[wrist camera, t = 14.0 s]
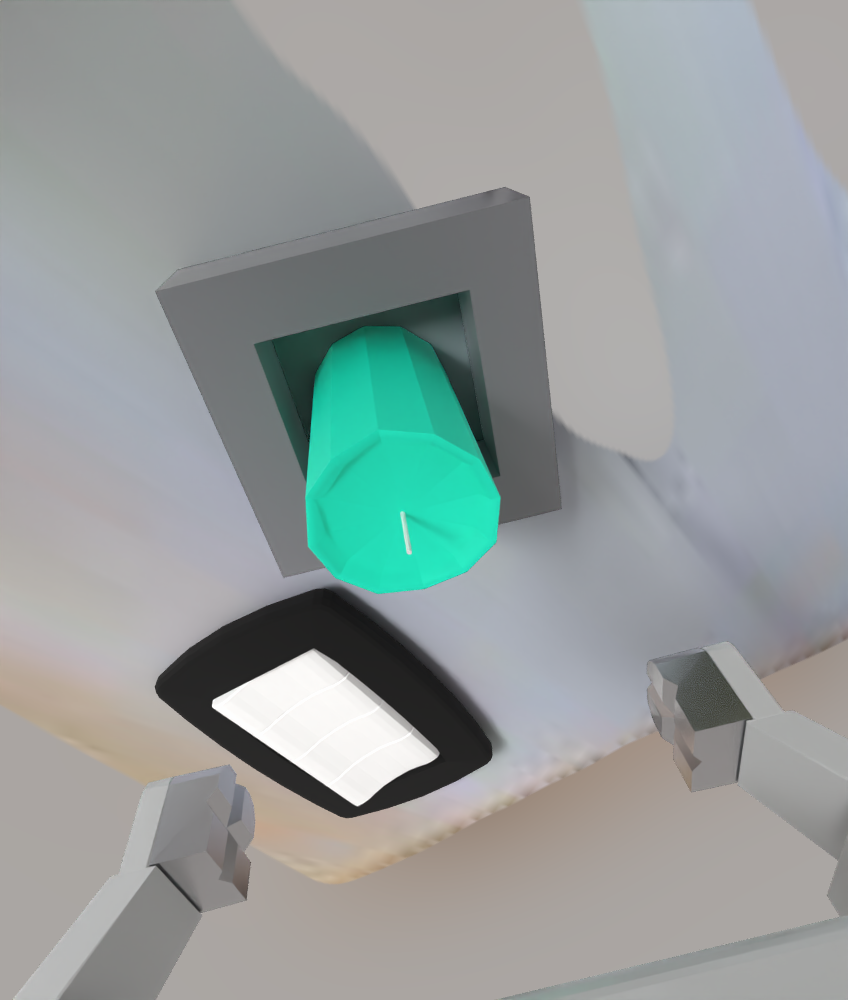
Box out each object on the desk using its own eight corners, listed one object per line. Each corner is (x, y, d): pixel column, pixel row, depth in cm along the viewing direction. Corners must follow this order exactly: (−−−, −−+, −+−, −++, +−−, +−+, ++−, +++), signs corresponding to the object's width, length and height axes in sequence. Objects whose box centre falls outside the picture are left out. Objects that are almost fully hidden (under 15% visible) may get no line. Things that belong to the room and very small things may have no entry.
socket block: (177, 269, 23) (155, 291, 20) (505, 186, 23) (529, 196, 20) (288, 533, 30) (283, 577, 27) (539, 471, 30) (561, 509, 27)
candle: (466, 344, 26) (547, 484, 16) (424, 462, 29) (472, 642, 19) (330, 306, 25) (327, 434, 15) (301, 435, 28) (281, 616, 18)
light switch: (121, 704, 33) (322, 596, 29) (139, 662, 35) (327, 557, 31) (342, 843, 43) (515, 776, 39) (345, 802, 45) (508, 736, 41)
